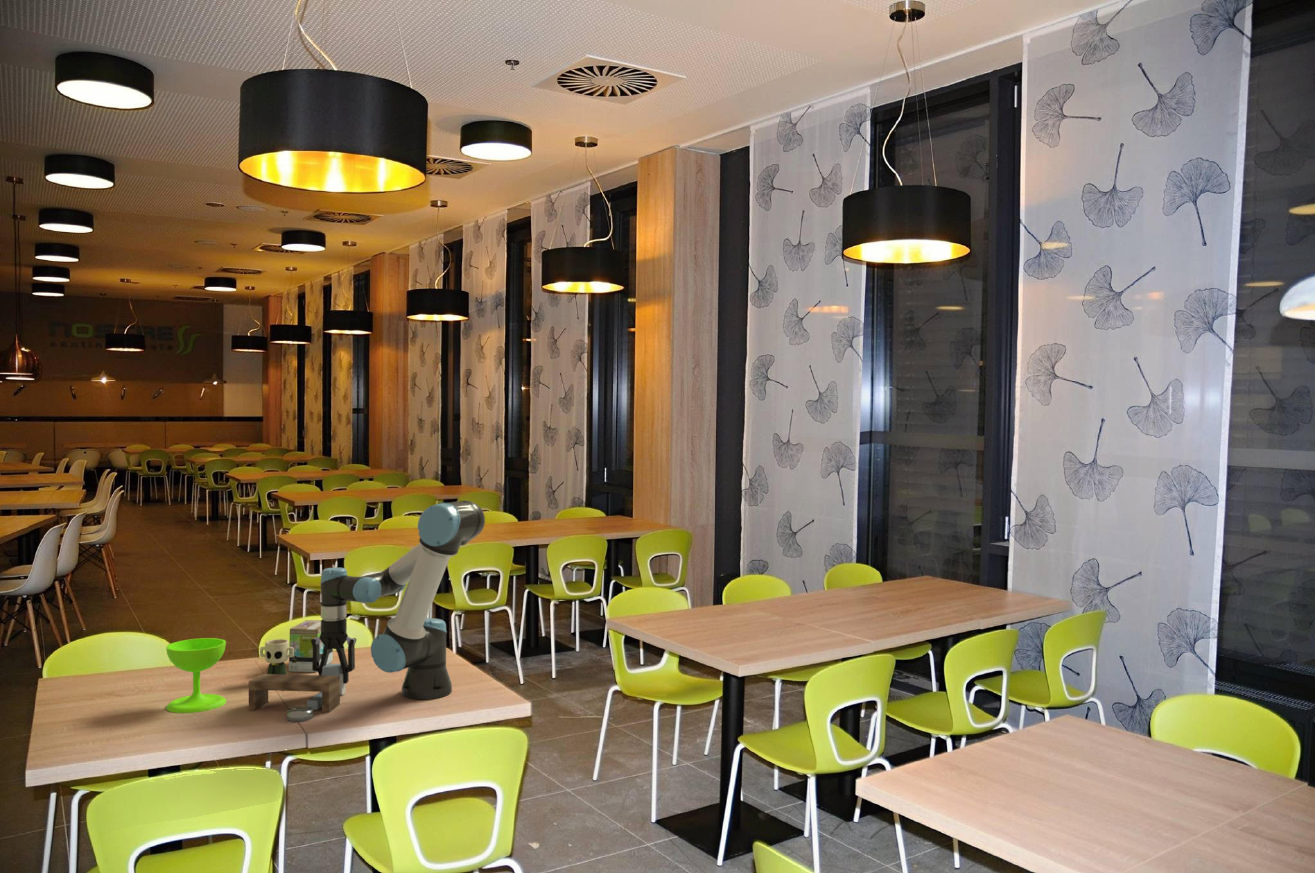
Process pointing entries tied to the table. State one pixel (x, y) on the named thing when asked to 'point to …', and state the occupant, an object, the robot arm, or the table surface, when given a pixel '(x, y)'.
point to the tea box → (305, 646)
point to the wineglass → (196, 671)
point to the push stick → (327, 670)
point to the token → (299, 714)
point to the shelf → (295, 688)
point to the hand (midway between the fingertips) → (333, 693)
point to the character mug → (277, 655)
